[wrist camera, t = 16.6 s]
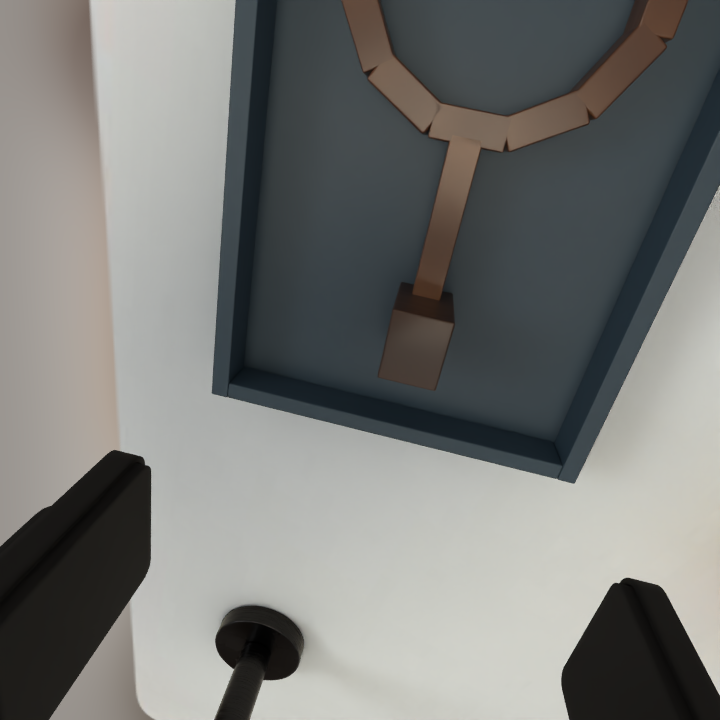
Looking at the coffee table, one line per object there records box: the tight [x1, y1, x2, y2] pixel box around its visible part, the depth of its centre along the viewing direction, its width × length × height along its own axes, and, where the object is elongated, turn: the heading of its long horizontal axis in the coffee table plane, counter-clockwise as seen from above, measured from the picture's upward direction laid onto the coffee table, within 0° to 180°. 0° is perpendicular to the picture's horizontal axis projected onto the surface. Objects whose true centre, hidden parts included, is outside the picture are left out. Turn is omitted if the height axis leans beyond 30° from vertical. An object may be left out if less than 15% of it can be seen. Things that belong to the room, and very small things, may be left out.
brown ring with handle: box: [341, 0, 688, 391], centre depth 17 cm, size 20×11×4 cm, turn 169°
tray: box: [212, 0, 720, 483], centre depth 18 cm, size 18×28×2 cm, turn 169°
